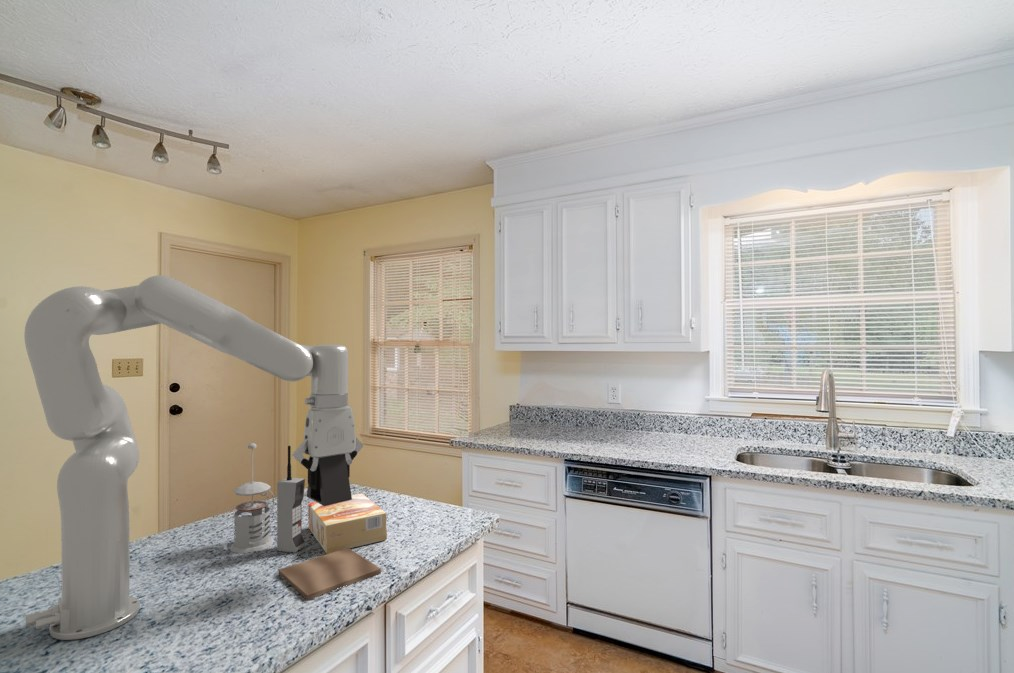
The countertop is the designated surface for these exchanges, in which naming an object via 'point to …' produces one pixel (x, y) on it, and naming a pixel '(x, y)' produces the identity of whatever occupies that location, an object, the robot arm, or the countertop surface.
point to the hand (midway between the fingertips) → (329, 484)
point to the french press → (252, 518)
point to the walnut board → (328, 573)
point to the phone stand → (331, 481)
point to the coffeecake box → (347, 523)
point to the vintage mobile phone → (290, 512)
